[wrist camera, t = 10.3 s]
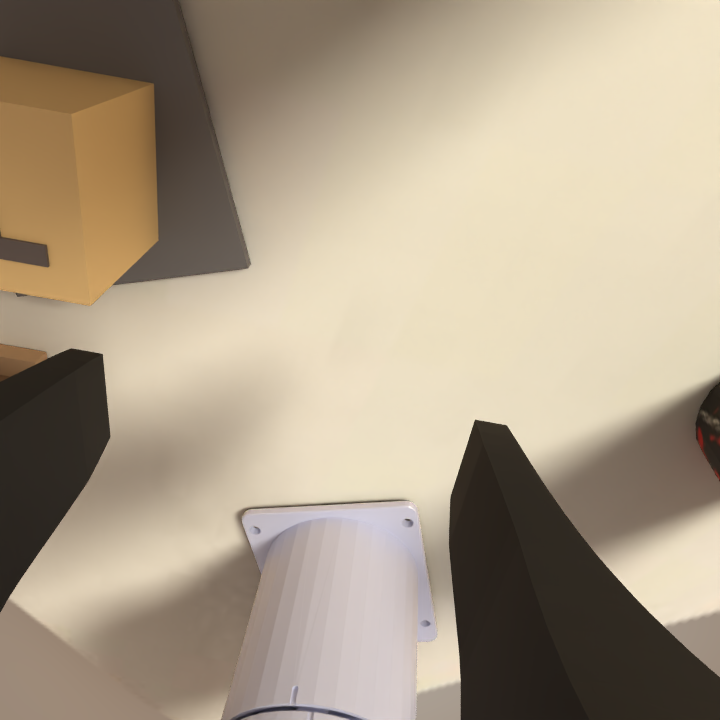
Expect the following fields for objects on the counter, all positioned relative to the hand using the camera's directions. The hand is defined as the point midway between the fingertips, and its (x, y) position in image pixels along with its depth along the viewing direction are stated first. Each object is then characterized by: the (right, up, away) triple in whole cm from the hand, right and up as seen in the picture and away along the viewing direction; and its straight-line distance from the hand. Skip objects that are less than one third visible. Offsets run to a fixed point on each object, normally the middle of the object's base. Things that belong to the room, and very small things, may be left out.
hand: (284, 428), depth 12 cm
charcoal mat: (-8, +8, +8) cm, 14 cm away
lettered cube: (-8, +8, +8) cm, 13 cm away
